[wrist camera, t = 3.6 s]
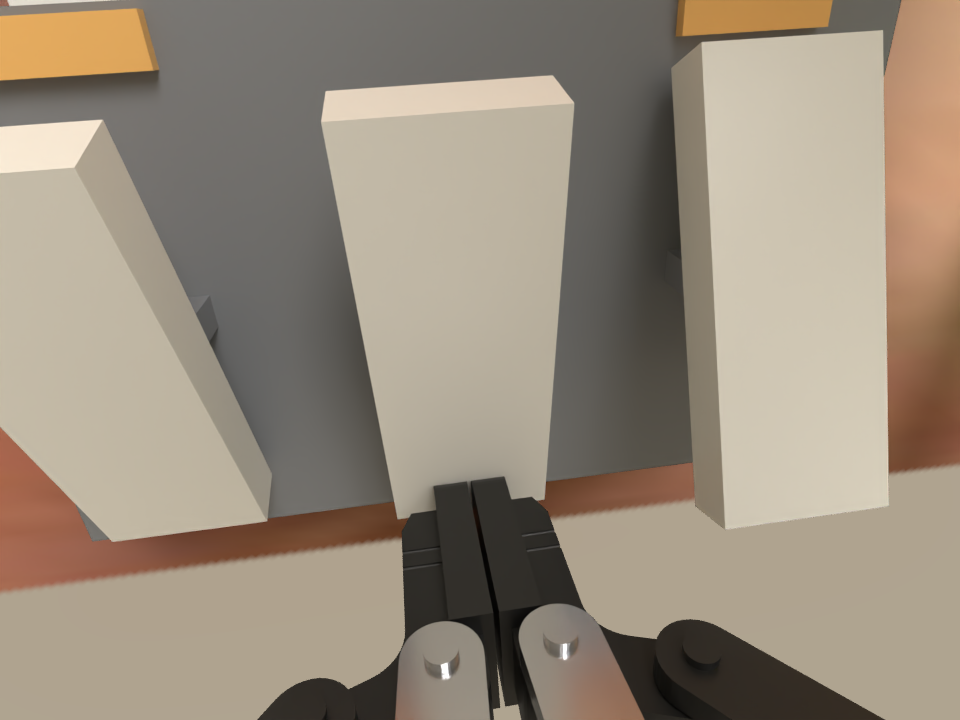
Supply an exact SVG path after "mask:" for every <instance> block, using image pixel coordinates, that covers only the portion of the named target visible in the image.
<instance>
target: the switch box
mask: <svg viewBox="0 0 960 720" xmlns="http://www.w3.org/2000/svg"><path fill="white" fill-rule="evenodd" d="M8 3H9V6H1V7H0V127H5V126H19V125H33V124H47V123H61V122H75V121H89V120H103V121H104V123H105V125H106V127H107V129H108V131H109V133H110V136H111V138H112V140H113V142H114V144H115V146H116V148H117V150H118V152H119V154H120V156H121V159H122V161H123V163H124V165H125V167H126V169H127V171H128V173H129V175H130V177H131V180H132V182H133V184H134V186H135V188H136V190H137V192H138V194H139V196H140V198H141V201H142V203H143V205H144V207H145V209H146V211H147V213H148V215H149V217H150V219H151V221H152V224H153V226H154V228H155V230H156V232H157V234H158V236H159V238H160V240H161V242H162V245H163V247H164V249H165V251H166V253H167V255H168V257H169V259H170V261H171V263H172V266H173V268H174V270H175V272H176V274H177V276H178V278H179V280H180V282H181V284H182V286H183V289H184V291H185V293H186V295H187V297H188V299H189V301H190V303H191V305H192V307H193V310H194V312H195V314H196V316H197V318H198V320H199V322H200V324H201V326H202V328H203V331H204V333H205V335H206V337H207V339H208V341H209V343H210V345H211V347H212V349H213V351H214V354H215V356H216V358H217V360H218V362H219V364H220V366H221V368H222V370H223V372H224V375H225V377H226V379H227V381H228V383H229V385H230V387H231V389H232V391H233V393H234V396H235V398H236V400H237V402H238V404H239V406H240V408H241V410H242V412H243V414H244V416H245V419H246V421H247V423H248V425H249V427H250V429H251V431H252V433H253V435H254V437H255V440H256V442H257V444H258V446H259V448H260V450H261V452H262V454H263V456H264V458H265V461H266V463H267V465H268V467H269V469H270V471H271V473H272V479H271V489H270V499H269V509H268V518H274V517H282V516H289V515H297V514H305V513H312V512H320V511H327V510H335V509H343V508H350V507H358V506H365V505H373V504H381V503H388V502H394V498H393V493H392V487H391V482H390V477H389V472H388V467H387V462H386V456H385V451H384V446H383V441H382V436H381V430H380V425H379V420H378V415H377V410H376V405H375V399H374V394H373V389H372V384H371V379H370V373H369V368H368V363H367V358H366V353H365V348H364V342H363V337H362V332H361V327H360V322H359V316H358V311H357V306H356V301H355V296H354V291H353V285H352V280H351V275H350V270H349V265H348V259H347V254H346V249H345V244H344V239H343V233H342V228H341V223H340V218H339V213H338V208H337V202H336V197H335V192H334V187H333V182H332V176H331V171H330V166H329V161H328V156H327V151H326V145H325V140H324V135H323V130H322V125H321V119H322V112H323V105H324V99H325V92H326V91H334V90H348V89H363V88H377V87H391V86H406V85H420V84H434V83H449V82H463V81H477V80H492V79H506V78H521V77H535V76H549V75H553V76H554V77H555V79H556V80H557V81H558V83H559V84H560V85H561V87H562V88H563V89H564V90H565V92H566V93H567V94H568V96H569V97H570V98H571V99H572V101H573V102H574V116H573V129H572V142H571V156H570V169H569V182H568V195H567V208H566V222H565V235H564V248H563V261H562V275H561V288H560V301H559V314H558V328H557V341H556V354H555V367H554V381H553V394H552V407H551V420H550V434H549V447H548V460H547V473H546V482H548V481H555V480H563V479H570V478H578V477H586V476H593V475H601V474H608V473H616V472H623V471H631V470H639V469H646V468H654V467H661V466H669V465H677V464H684V463H692V462H693V455H692V437H691V419H690V400H689V382H688V364H687V346H686V328H685V310H684V292H683V274H682V256H681V237H680V219H679V201H678V183H677V165H676V147H675V129H674V111H673V93H672V74H671V68H672V67H673V66H674V65H675V64H676V63H678V62H679V61H680V60H681V59H682V58H683V57H685V56H686V55H687V54H688V53H689V52H691V51H692V50H693V49H694V48H695V47H696V46H698V45H699V44H700V43H701V42H711V41H726V40H742V39H757V38H772V37H787V36H802V35H817V34H832V33H847V32H863V31H878V30H883V65H884V75H885V70H886V66H887V61H888V57H889V52H890V48H891V43H892V39H893V35H894V30H895V26H896V21H897V17H898V12H899V8H900V3H901V0H8ZM75 505H76V504H75ZM76 507H77V509H78V511H79V513H80V515H81V518H82V520H83V522H84V524H85V526H86V528H87V530H88V533H89V535H90V537H91V539H92V541H100V540H107V539H109V538H108V537H107V536H106V535H105V534H104V533H103V532H102V531H101V530H100V529H99V528H98V527H97V525H96V524H95V523H94V522H93V521H92V520H91V519H90V518H89V517H88V516H87V515H86V514H85V513H84V512H83V511H82V510H81V509H80V508H79V507H78V506H77V505H76Z"/></svg>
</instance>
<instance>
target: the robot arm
mask: <svg viewBox="0 0 960 720" xmlns="http://www.w3.org/2000/svg"><path fill="white" fill-rule="evenodd" d="M471 494H472V504H471V499H470V494H469V489H468V484H467V481H466V482H458V483H451V484H444V485H436V486H434V495H435V504H436V510H433V511H426V512H419V513H412V514H411V515H410V517H409V519H408V521H407V523H406V525H405V527H404V529H403V530H402V552H403V582H404V607H405V609H404V610H405V639H404V643H403V646H402V648H401V651H400V652H399V654H398V656H397V658H396V659H395V660H394V661H393V662H392V663H391V664H390V665H389V666H388V667H387V668H386V669H385V670H384V671H382V672H381V673H380V674H378V675H376V676H375V677H373V678H371V679H369V680H367V681H365V682H363V683H361V684H359V685H357V686H355V687H353V688H350V689H347V688H346V687H345V686H344V685H343V684H341V683H340V682H337V681H335V680H331V679H326V678H317V679H310V680H307V681H303V682H301V683H298V684H296V685H294V686H293V687H291V688H289V689H288V690H286V691H285V692H284V693H282V694H281V695H280V696H279V697H278V698H277V699H276V700H275V701H274V702H273V703H272V704H271V705H270V706H269V708H268V709H267V710H266V711H265V712H264V713H263V714H262V715H261V716H260V717H259V719H258V720H494V716H493V709H495V708H500V700H499V686H498V672H497V665H498V670H499V676H500V681H501V686H502V691H503V697H504V701H505V706H510V705H516V704H518V705H519V710H520V715H521V720H884V719H882V718H881V717H879V716H877V715H875V714H874V713H872V712H870V711H868V710H867V709H865V708H862V707H861V706H859V705H858V704H856V703H854V702H852V701H850V700H849V699H847V698H845V697H843V696H842V695H840V694H838V693H836V692H834V691H832V690H831V689H829V688H827V687H825V686H823V685H822V684H820V683H818V682H816V681H815V680H813V679H811V678H809V677H808V676H806V675H804V674H802V673H800V672H799V671H797V670H795V669H793V668H791V667H789V666H788V665H786V664H784V663H783V662H781V661H779V660H777V659H775V658H774V657H772V656H770V655H768V654H766V653H765V652H763V651H761V650H759V649H757V648H755V647H754V646H752V645H750V644H748V643H747V642H745V641H743V640H741V639H740V638H738V637H736V636H734V635H732V634H731V633H729V632H727V631H725V630H723V629H722V628H720V627H718V626H716V625H714V624H711V623H708V622H704V621H700V620H691V619H690V620H681V621H676V622H674V623H671V624H669V625H668V626H666V627H665V628H664V629H663V630H662V631H661V632H660V634H659V635H658V637H657V639H650V638H642V637H634V636H627V635H622V634H619V633H615V632H612V631H610V630H608V629H606V628H604V627H603V626H601V625H599V624H598V623H597V622H596V621H595V619H594V618H593V617H592V616H591V615H589V614H588V613H587V612H586V611H585V609H584V608H583V605H582V603H581V600H580V598H579V595H578V592H577V590H576V587H575V584H574V582H573V579H572V576H571V574H570V571H569V568H568V565H567V563H566V560H565V557H564V554H563V552H562V549H561V548H560V544H559V541H558V538H557V536H556V533H555V532H554V528H553V525H552V522H551V519H550V517H549V514H548V511H547V510H546V509H545V508H544V507H543V506H541V505H540V504H539V503H538V502H537V501H536V500H535V499H534V498H533V497H526V498H518V499H511V496H510V493H509V490H508V486H507V483H506V480H505V477H504V476H502V477H494V478H487V479H480V480H472V481H471ZM472 508H473V509H472Z"/></svg>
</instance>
